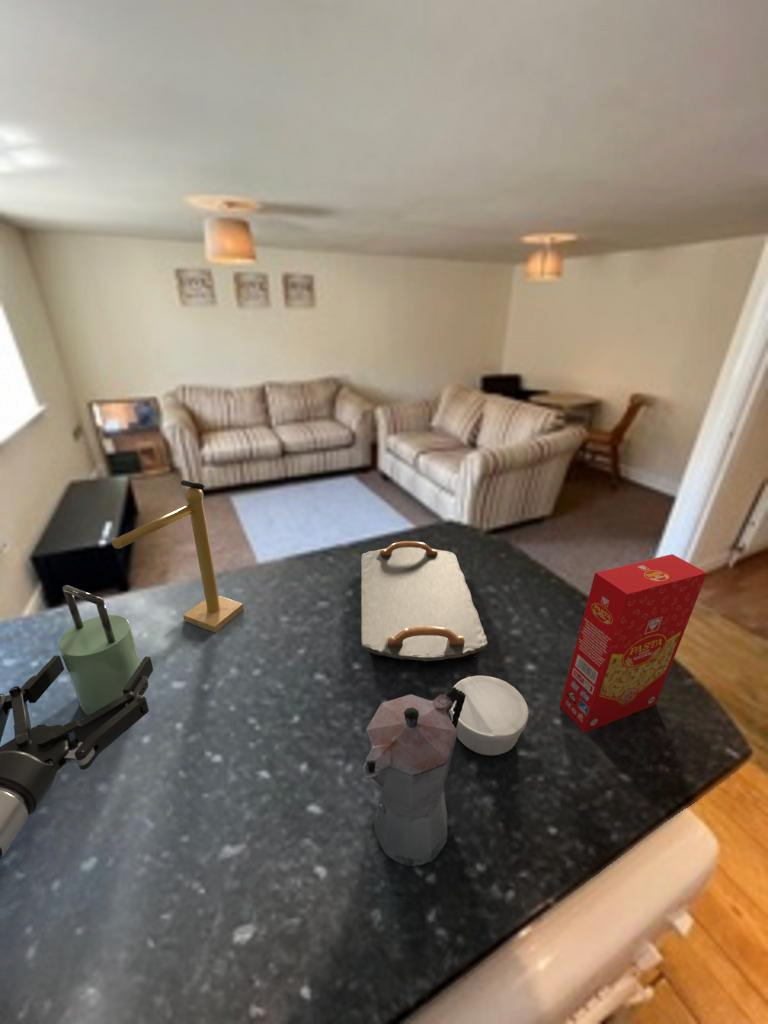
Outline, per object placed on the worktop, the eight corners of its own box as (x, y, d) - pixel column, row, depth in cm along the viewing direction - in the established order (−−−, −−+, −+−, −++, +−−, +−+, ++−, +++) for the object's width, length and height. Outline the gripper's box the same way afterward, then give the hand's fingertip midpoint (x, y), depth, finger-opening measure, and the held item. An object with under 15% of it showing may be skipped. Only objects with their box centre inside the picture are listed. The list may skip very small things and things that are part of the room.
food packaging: (584, 732, 67) (627, 594, 56) (559, 705, 71) (595, 572, 60) (655, 704, 72) (707, 572, 61) (628, 681, 76) (672, 554, 65)
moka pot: (337, 842, 52) (333, 722, 44) (420, 755, 63) (430, 644, 54) (399, 912, 46) (408, 788, 38) (479, 803, 57) (500, 687, 48)
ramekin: (431, 732, 66) (434, 706, 64) (469, 687, 74) (473, 663, 72) (501, 780, 60) (506, 753, 57) (534, 725, 67) (540, 700, 65)
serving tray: (360, 556, 111) (360, 534, 109) (452, 555, 112) (454, 534, 110) (360, 672, 76) (360, 644, 74) (494, 670, 78) (498, 642, 75)
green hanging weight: (67, 704, 69) (27, 600, 61) (120, 665, 76) (91, 569, 68) (107, 725, 66) (71, 619, 57) (158, 683, 73) (132, 583, 65)
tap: (129, 661, 78) (87, 512, 66) (213, 599, 94) (192, 471, 82) (163, 676, 75) (125, 523, 63) (244, 609, 91) (226, 478, 79)
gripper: (-104, 823, 51) (29, 679, 70) (118, 825, 51) (190, 681, 70) (-135, 780, 47) (13, 642, 67) (102, 782, 48) (182, 644, 67)
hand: (104, 662), depth 68 cm, fingers open, 13 cm apart
